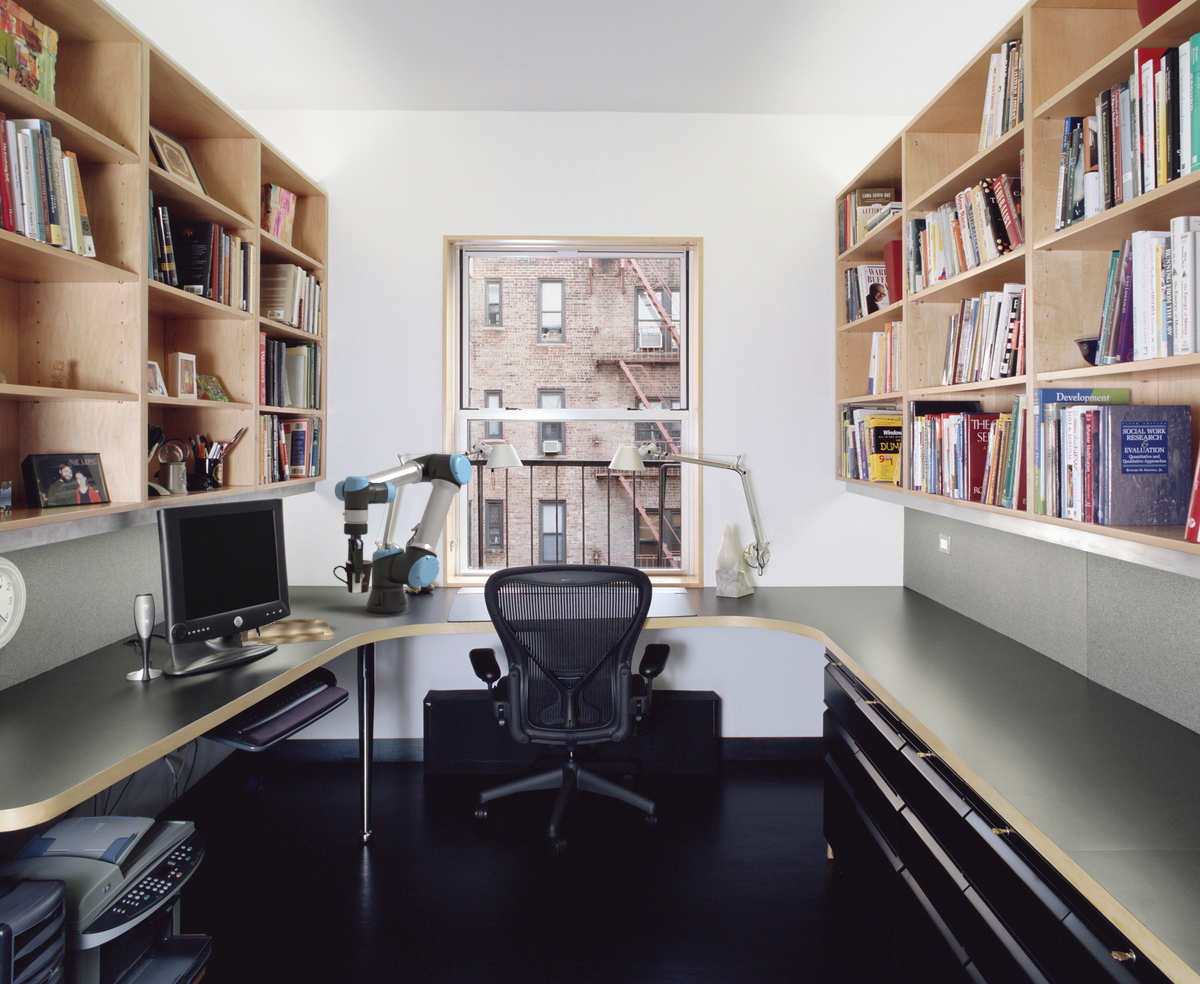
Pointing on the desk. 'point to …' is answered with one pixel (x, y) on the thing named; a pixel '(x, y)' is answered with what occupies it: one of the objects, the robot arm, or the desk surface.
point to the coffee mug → (364, 575)
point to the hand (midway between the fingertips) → (354, 590)
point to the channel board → (291, 632)
